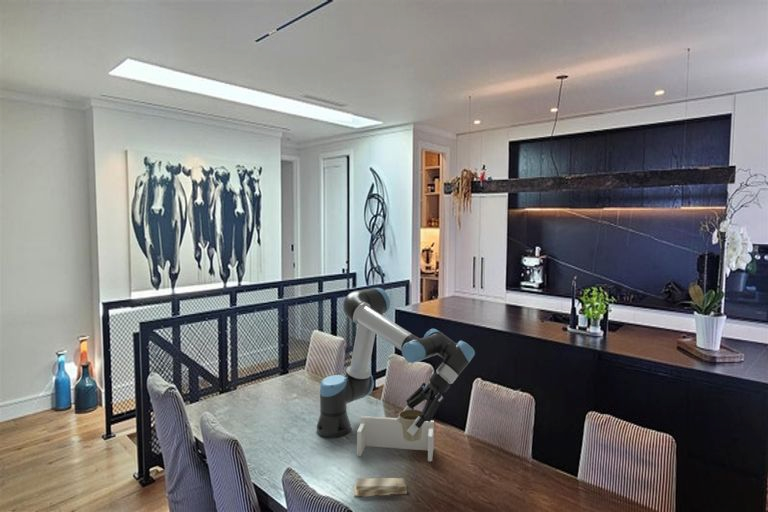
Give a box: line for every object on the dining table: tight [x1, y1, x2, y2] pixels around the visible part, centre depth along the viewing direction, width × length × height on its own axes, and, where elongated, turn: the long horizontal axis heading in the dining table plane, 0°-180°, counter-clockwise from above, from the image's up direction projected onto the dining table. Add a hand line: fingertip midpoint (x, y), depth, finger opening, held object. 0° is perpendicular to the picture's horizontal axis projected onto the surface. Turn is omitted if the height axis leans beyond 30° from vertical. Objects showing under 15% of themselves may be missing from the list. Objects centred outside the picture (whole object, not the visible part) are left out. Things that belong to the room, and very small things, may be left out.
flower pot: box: [398, 409, 423, 441], centre depth 162 cm, size 9×9×9 cm
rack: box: [356, 415, 435, 462], centre depth 180 cm, size 30×10×12 cm, turn 81°
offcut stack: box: [353, 477, 408, 498], centre depth 155 cm, size 18×7×4 cm, turn 96°
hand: (404, 427), depth 161 cm, fingers closed on flower pot, 9 cm apart
